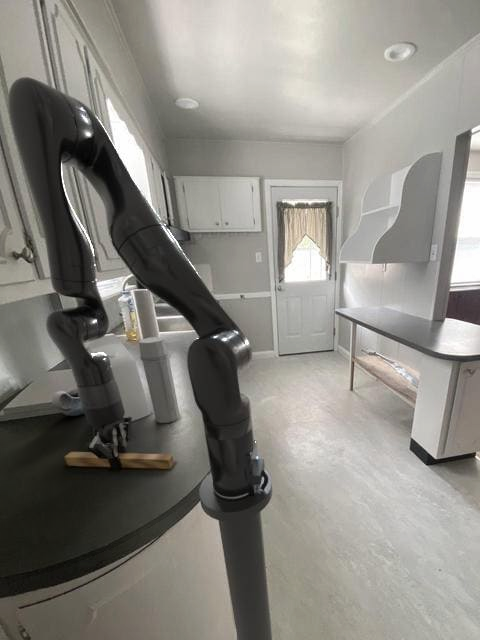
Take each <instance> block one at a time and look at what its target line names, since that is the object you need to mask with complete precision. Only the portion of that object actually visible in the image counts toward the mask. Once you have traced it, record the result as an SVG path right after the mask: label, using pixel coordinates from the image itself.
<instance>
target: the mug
mask: <svg viewBox="0 0 480 640" xmlns="http://www.w3.org/2000/svg"><path fill="white" fill-rule="evenodd" d="M51 404H52V406H53V407H54V408H55V409H57V410H59V411H60V413H62V415H65V416H67V417H79V416H83V415H85V414H84V411H83V408H82V405H81V402H80V399H79V395H78V389H77V388H74V389H70V390H67V391H63V390H60V391H56V392H55V393H53V395H52V397H51Z"/></svg>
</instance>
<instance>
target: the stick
mask: <svg viewBox="0 0 480 640" xmlns="http://www.w3.org/2000/svg"><path fill="white" fill-rule="evenodd" d="M118 455H119V458H120V461H121V465H122V467H121V468H128V469H161V470H162V469H163V470H171V468H172V467H174V464H175V462H174V461H175V460H174V455H173V454H171V453H170V454H169V453H137V452H127V453H118ZM64 460H65V463H66V465H67V467H91V468H93V467H97V468H111V467H110V464H109V461H108V459H99V458H98V457H97V456H96V455H94V454H93V453H92V452H91V451H70V452H69V453H68V454H66V455H65V456H64Z"/></svg>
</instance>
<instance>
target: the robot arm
mask: <svg viewBox="0 0 480 640" xmlns="http://www.w3.org/2000/svg"><path fill="white" fill-rule="evenodd" d="M7 107H8V116H9V121H10V125H11V128H12V133H13V137H14V141H15V144H16V147H17V150H18V154H19V157H20V160H21V163H22V166H23V170H24V173H25V177H26V180H27V183H28V187H29V189H30V193H31V195H32V199H33V202H34V205H35V209H36V211H37V214H38V218H39V221H40V224H41V228H42V232H43V238H44V243H45V248H46V255H47V261H48V267H49V269H48V270H49V277H50V283H51V286H52V289H53V291H54V292H55V293H56V294H58V295H61V296H62V297H68V298H72V299H73V298H74V299H75V301H76V306H72V307H66V308H60V309H56V310H53V311H51V312H50V313H49V314H48V315H47V317H46V321H45V328H46V333H47V334H48V336H49V338H50V339H51V341H52V343H53V344H54V345H55V346H56V348H57V349H58V350H59V352H60V354H61V355H62V357H63V358H64V360H65V361H66V362H67V364H68V366H69V367H70V370H71V372H72V376H73V378H74V382H75V385H76V389H78V395H79V399H80V402H81V405H82V408H83V411H84V414H83V415H84V417H85V420H86V422H87V424H88V425H89V426H90V427H91V428H92V435H93V437H94V438H93V439H92V441H91V442H87V443H86V445H85V449H87V450H88V452H92V453H93V454H94V455H96V456H97V457H98V458H99V459H108V461H109V464H110V467H109V468H110V469H112V470H121V468H123V467H122V465H121V461H120V458H119V455H118V453H128V449H127V447H128V442H130V441H131V439H132V424H133V421H132V417H123V416H124V415H125V411H124V407H123V403H122V400H121V396H120V392H119V388H118V385H117V383H116V381H115V378H114V375H113V371H112V368H111V364H110V361H109V358H108V356H107V355H106V354H105V353H103V352H88V349H87V347H86V346H85V343H90V341H93V340H97V339H100V338H102V337H104V336H105V335H107V333H108V331H109V328H110V318H109V315H108V312H107V310H106V308H105V305H104V302H103V298H102V296H101V294H100V291H99V289H98V283H97V270H96V258H95V253H94V252H95V251H94V248H93V245H92V243H91V240H90V237H89V236H88V234H87V232H86V230H85V228H84V227H83V225H82V222H80V219H79V218H78V216H77V214H76V212H75V210H74V208H73V206H72V204H71V202H70V200H69V197H68V194H67V191H66V187H65V184H64V183H65V182H64V178H63V177H64V176H63V165H65V166H68V167H71V168H75V169H76V170H77V171H79V172H80V173H81V174H82V175H83V176H84V177H85V179H86V180H87V181H88V182H89V184H90V185H91V187H92V188H93V189H94V190H95V192H96V194H97V195H98V196H99V198H100V200H101V201H102V204H103V207H104V209H105V217H106V225H107V232H108V237H109V240H110V243H111V245H112V247H113V249H114V251H115V252H116V253H117V255H118V256H119V257H120V259H121V260H122V262H123V263H124V265H125V267H126V268H127V269H128V270H129V272H130V273H131V274H132V276H133V277H134V278H135V280H136V281H137V282H138V283H139V284H140V285H141V286H142V287H143V288H145V289H146V290H147V291H149V292H150V293H151V294H152V295H154V296H155V297H157V299H159V300H161V301H162V302H163V303H165V304H166V305H168V307H171V308H172V309H174V310H175V311H176V312H177V313H178V314H179V315H181V316H182V317H183V318H184V320H186V322H188V324H189V325H190V326H191V328H192V329H193V330H194V332H195V333H196V335H197V336H198V337H197V338H195V339H194V340H192V342H190V345H189V346H188V348H187V353H186V364H187V371H188V376H189V380H190V385H191V389H192V394H193V398H194V402H195V404H196V406H197V408H198V410H199V411H200V414H201V418H202V423H203V430H204V435H205V442H206V449H207V456H208V461H209V468H210V473H211V474H212V480H213V490H214V493H215V494H216V496H217V497H219V498H220V499H223V500H227V501H236V500H241V499H244V498H246V497H248V496H254V495H255V492H256V488H257V486H258V485H260V484H261V480H262V476H263V477H264V483H263V484H262V486H261V489H262V490H264V489H265V487H266V486H267V484H268V476H267V474H266V473H265V471H264V469H266V468H265V467H266V466H265V465H266V464H265V459H264V458H259V455H258V453H259V452H258V444H257V443H258V442H257V440H256V439H254V430H253V419H252V418H253V417H252V406H251V405H252V404H251V399H250V398H249V396H247V395H246V394H244V393H242V392H241V389H240V382H239V376H240V375H241V374H242V373H244V372H245V371H246V370H247V369H248V368H249V367H250V365H251V363H252V361H253V350H252V346H251V343H250V340H249V339H248V337H247V335H246V334H245V333H244V332H243V330H242V329H241V328H240V326H238V324H237V323H236V321H234V320H233V318H232V317H231V316H230V315H229V313H228V312H227V311H226V310H225V309H224V307H223V306H222V305H221V304H220V303H219V302H218V300H217V299H216V298H215V297H214V295H213V294H212V292H211V291H210V289H209V288H208V286H207V284H206V283H205V282H204V280H203V279H202V277H201V276H200V274H199V273H198V272H197V270H196V269H195V267H194V266H193V265H192V263H191V262H190V260H189V258H188V257H187V256H186V254H185V253H184V251H183V248H181V246H180V244H179V243H178V241H177V240H176V239H175V237H174V236H173V235H172V233H171V231H170V230H169V228H168V226H166V224H165V223H164V221H163V220H162V219H161V218H160V216H159V215H158V213H157V212H156V210H155V209H154V207H153V206H152V204H151V202H150V200H148V198H147V197H146V195H145V194H144V193H143V190H142V189H141V188H140V186H139V185H138V184H137V181H135V179H134V178H133V176H132V173H130V171H129V170H128V168H127V165H126V164H125V162H124V161H123V159H122V157H121V154H119V152H118V149H117V148H116V146H115V144H114V143H113V141H112V139H111V137H110V135H109V134H108V132H107V130H106V129H105V127H104V125H103V123H102V122H101V120H100V119H99V117H98V116H97V114H96V113H95V112H93V110H92V109H90V108H89V107H88V105H86V104H85V103H83V102H82V101H80V100H78V99H76V98H75V97H72V96H71V95H69V94H67V93H65V92H62V91H61V90H58V89H56V87H55V88H54V87H52V86H51V85H49V84H46V83H45V82H42V81H41V80H37V79H36V78H33V77H28V76H23V77H19V78H17V79H15V80H14V82H13V83H12V84H11V85H10V88H9V90H8V96H7Z"/></svg>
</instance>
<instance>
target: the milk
mask: <svg viewBox="0 0 480 640" xmlns="http://www.w3.org/2000/svg"><path fill="white" fill-rule="evenodd" d="M87 350H88V352H103V353H105V354H106V355H107V356H108V358H109V361H110V364H111V368H112V371H113V375H114V378H115V381H116V383H117V385H118V388H119V392H120V396H121V400H122V403H123V407H124V411H125V415H124V416H123V417H132V422H135V421H138V420H141V419H143V418H145V417H148V416H151V414H152V413H151V410H150V406H149V403H148V399H147V396H146V393H145V389H144V385H143V383H142V378H141V376H140V373H139V369H138V368H139V367H138V366H137V362H136V360H135V358H134V356H133V354H132V353H131V352H130V351H129V350H128V349H127V348H126V347H125V346H124V344H123V343H122V342H121V341H120V340H119V338H118V337H117V336H116V335H115V334H114V333H108V334H107V333H106V335H105V336H104V337H102V338H100V339H97V340H93V341H89V342H88V349H87Z"/></svg>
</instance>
